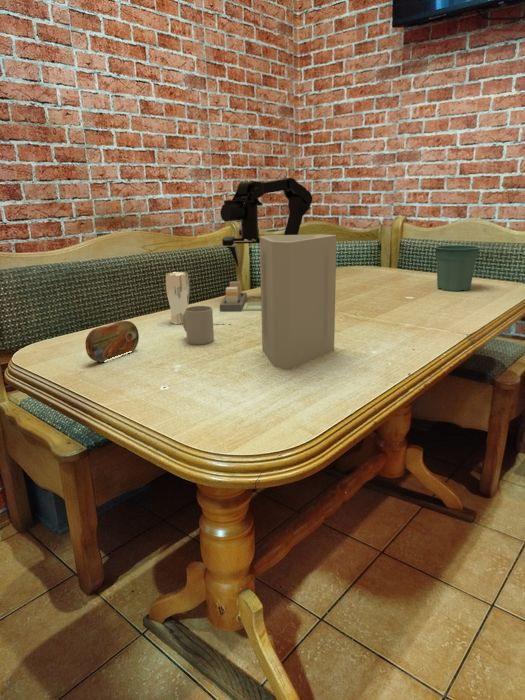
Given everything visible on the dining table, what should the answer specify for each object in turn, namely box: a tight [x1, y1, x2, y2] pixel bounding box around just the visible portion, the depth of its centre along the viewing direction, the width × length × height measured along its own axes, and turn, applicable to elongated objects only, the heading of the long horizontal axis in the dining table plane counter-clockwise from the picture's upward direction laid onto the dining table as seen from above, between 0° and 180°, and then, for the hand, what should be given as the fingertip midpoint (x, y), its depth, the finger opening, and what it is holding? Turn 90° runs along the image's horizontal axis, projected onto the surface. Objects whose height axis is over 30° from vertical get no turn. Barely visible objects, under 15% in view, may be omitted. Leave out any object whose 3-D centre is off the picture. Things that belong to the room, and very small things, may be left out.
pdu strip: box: [219, 280, 248, 313], centre depth 173 cm, size 7×20×8 cm, turn 177°
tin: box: [84, 320, 140, 363], centre depth 123 cm, size 15×3×8 cm, turn 148°
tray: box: [242, 302, 261, 312], centre depth 169 cm, size 9×9×2 cm
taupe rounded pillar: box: [259, 233, 338, 371], centre depth 119 cm, size 19×15×28 cm
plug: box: [225, 286, 238, 303], centre depth 168 cm, size 4×4×7 cm
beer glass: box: [165, 271, 190, 325], centre depth 154 cm, size 7×7×15 cm
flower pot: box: [434, 244, 481, 292], centre depth 194 cm, size 16×16×16 cm
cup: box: [182, 305, 215, 346], centre depth 135 cm, size 7×10×9 cm
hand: (250, 265), depth 178 cm, fingers open, 9 cm apart
